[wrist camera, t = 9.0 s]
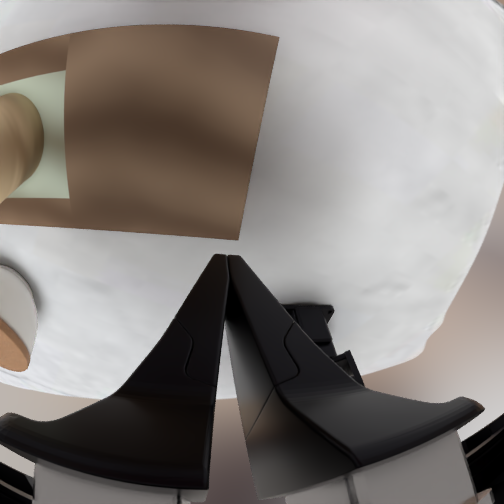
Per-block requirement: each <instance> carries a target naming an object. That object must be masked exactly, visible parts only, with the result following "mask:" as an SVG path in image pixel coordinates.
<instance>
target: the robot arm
mask: <svg viewBox="0 0 504 504" xmlns="http://www.w3.org/2000/svg"><path fill="white" fill-rule="evenodd" d="M333 313H334V308H333V307H332V306H287V305H281V304H280V303H279V302H278V300H277V299H276V298H275V297H274V296H273V294H272V293H271V292H270V291H269V290H268V289H267V287H266V286H265V285H264V284H263V283H262V281H261V280H260V279H259V278H258V277H257V275H256V274H255V273H254V272H253V271H252V269H251V268H250V267H249V266H248V265H247V263H246V262H245V261H244V260H243V258H242V257H241V256H239V255H228V256H227V255H224V254H214V255H213V257H212V258H211V260H210V261H209V263H208V265H207V266H206V268H205V269H204V271H203V272H202V274H201V276H200V277H199V279H198V280H197V282H196V283H195V285H194V287H193V288H192V290H191V291H190V293H189V295H188V296H187V298H186V299H185V301H184V303H183V304H182V306H181V307H180V309H179V311H178V312H177V314H176V315H175V317H174V319H173V320H172V322H171V323H170V325H169V327H168V328H167V330H166V331H165V333H164V334H163V336H162V337H161V339H160V340H159V341H158V343H157V344H156V345H155V347H154V348H153V349H152V350H151V352H150V353H149V354H148V355H147V357H146V358H145V359H144V360H143V361H142V363H141V364H140V365H139V366H138V367H137V369H136V370H135V371H134V372H133V373H132V375H131V376H130V377H129V378H128V379H127V381H126V382H125V383H124V384H123V385H122V386H121V387H120V388H119V389H118V390H117V391H116V392H115V393H113V394H112V395H110V396H108V397H106V398H104V399H102V400H100V401H98V402H96V403H94V404H92V405H90V406H87V407H85V408H83V409H81V410H79V411H76V412H74V413H72V414H69V415H67V416H65V417H63V418H60V419H57V420H54V421H46V422H45V421H42V422H41V421H35V420H31V419H29V418H26V417H23V416H21V415H18V414H15V413H6V414H4V415H3V416H1V417H0V444H1V445H3V446H4V447H6V448H8V449H10V450H11V451H13V452H15V453H17V454H18V455H20V456H22V457H24V458H26V459H28V460H30V461H32V462H34V463H35V469H34V478H32V477H30V476H28V475H26V474H24V473H22V472H20V471H18V470H16V469H13V468H12V467H10V466H8V465H6V464H4V463H2V462H0V504H191V502H205V499H206V496H207V493H208V489H209V473H210V459H211V447H212V435H213V434H212V433H213V423H214V412H215V402H216V392H217V383H218V374H219V365H220V356H221V348H222V339H223V331H224V323H225V326H226V333H227V340H228V346H229V352H230V358H231V365H232V371H233V377H234V382H235V388H236V394H237V399H238V405H239V410H240V416H241V421H242V426H243V431H244V437H245V440H246V447H247V452H248V457H249V462H250V466H251V471H252V476H253V480H254V485H255V489H256V494H257V498H258V500H261V499H270V498H277V497H285V500H286V504H504V413H503V414H502V415H501V416H499V417H498V418H497V419H495V420H494V421H492V422H491V423H490V424H488V425H487V426H485V427H484V428H482V429H481V430H479V431H478V432H476V433H475V434H473V435H472V436H470V437H468V438H467V439H465V440H464V441H462V442H461V441H460V438H459V435H458V433H457V430H458V429H460V428H461V427H463V426H464V425H466V424H467V423H468V422H470V421H471V420H473V419H474V418H475V417H477V416H478V415H479V414H481V413H482V412H483V411H484V410H485V408H484V407H483V406H482V405H481V404H480V403H478V402H477V401H474V400H472V399H469V398H465V397H458V398H456V399H454V400H452V401H450V402H446V403H428V402H422V401H417V400H412V399H407V398H403V397H398V396H394V395H390V394H385V393H381V392H377V391H373V390H370V389H368V388H366V387H365V386H364V383H363V380H362V378H361V375H360V373H359V371H358V368H357V366H356V364H355V361H354V359H353V356H352V354H351V352H350V350H348V351H346V352H344V353H343V354H340V355H338V356H337V354H336V351H335V348H334V345H333V342H332V336H331V334H330V331H329V328H328V325H327V324H328V322H329V320H330V318H331V317H332V315H333Z"/></svg>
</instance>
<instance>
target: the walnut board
mask: <svg viewBox="0 0 504 504" xmlns="http://www.w3.org/2000/svg"><path fill="white" fill-rule="evenodd" d="M278 41H279V37H276V36H271V35H266V34H261V33H255V32H249V31H243V30H236V29H229V28H220V27H210V26H196V25H133V26H120V27H110V28H102V29H95V30H88V31H82V32H76V33H71V34H66V35H62V36H57V37H53V38H49V39H45V40H41V41H38V42H34V43H31V44H28V45H24V46H21V47H18V48H15V49H12V50H10V51H7V52H4V53H2V54H0V96H2V95H5V94H8V93H19V94H22V95H24V96H26V97H27V98H28V99H30V100H31V101H32V103H33V104H34V105H35V107H36V108H37V110H38V112H39V114H40V117H41V120H42V124H43V130H44V148H43V154H42V158H41V161H40V163H39V165H38V167H37V169H36V171H35V172H34V173H33V175H32V176H31V177H30V178H28V179H27V180H26V181H25V182H24V183H23V184H21V185H20V186H19V187H18V188H17V189H16V190H15V191H13V192H12V193H11V194H10V195H9V196H8V197H7V198H6V199H5V200H4V201H3V202H1V203H0V224H12V225H29V226H46V227H62V228H78V229H93V230H108V231H122V232H136V233H150V234H163V235H177V236H190V237H202V238H215V239H227V240H238V239H239V233H240V228H241V223H242V217H243V212H244V207H245V202H246V197H247V191H248V186H249V181H250V176H251V171H252V166H253V161H254V156H255V151H256V146H257V141H258V136H259V131H260V126H261V121H262V116H263V111H264V107H265V102H266V97H267V92H268V88H269V83H270V78H271V73H272V69H273V64H274V60H275V55H276V50H277V46H278Z"/></svg>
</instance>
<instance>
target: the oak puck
mask: <svg viewBox="0 0 504 504" xmlns="http://www.w3.org/2000/svg"><path fill="white" fill-rule="evenodd" d="M43 148H44V130H43V124H42V120H41V117H40V114H39V112H38V110H37V108H36V107H35V105H34V104H33V103H32V101H31V100H30V99H28V98H27V97H26V96H24V95H22V94H19V93H8V94H5V95H2V96H0V203H1V202H3V201H4V200H5V199H6V198H7V197H8V196H9V195H10V194H11V193H12V192H13V191H15V190H16V189H17V188H18V187H19V186H20V185H21V184H23V183H24V182H25V181H26V180H27V179H28V178H30V177H31V176H32V175H33V173H34V172H35V171H36V169H37V167H38V165H39V163H40V161H41V158H42V154H43Z"/></svg>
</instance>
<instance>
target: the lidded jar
mask: <svg viewBox="0 0 504 504" xmlns="http://www.w3.org/2000/svg"><path fill="white" fill-rule="evenodd" d="M37 327H38V317H37V310H36V306H35V302H34V300H33V293H32V290H31V288H30V286H29V285H28V283H27V282H26V280H25V279H24V278H23V277H22V276H21V275H20V274H19V273H18V272H16V271H15V270H13V269H12V268H10V267H8V266H5V265H0V366H1V367H3V368H6V369H8V370H12V371H16V372H22V371H25V370H26V369H27V368H28V366H29V363H30V356H31V353H32V350H33V347H34V344H35V339H36V335H37Z"/></svg>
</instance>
